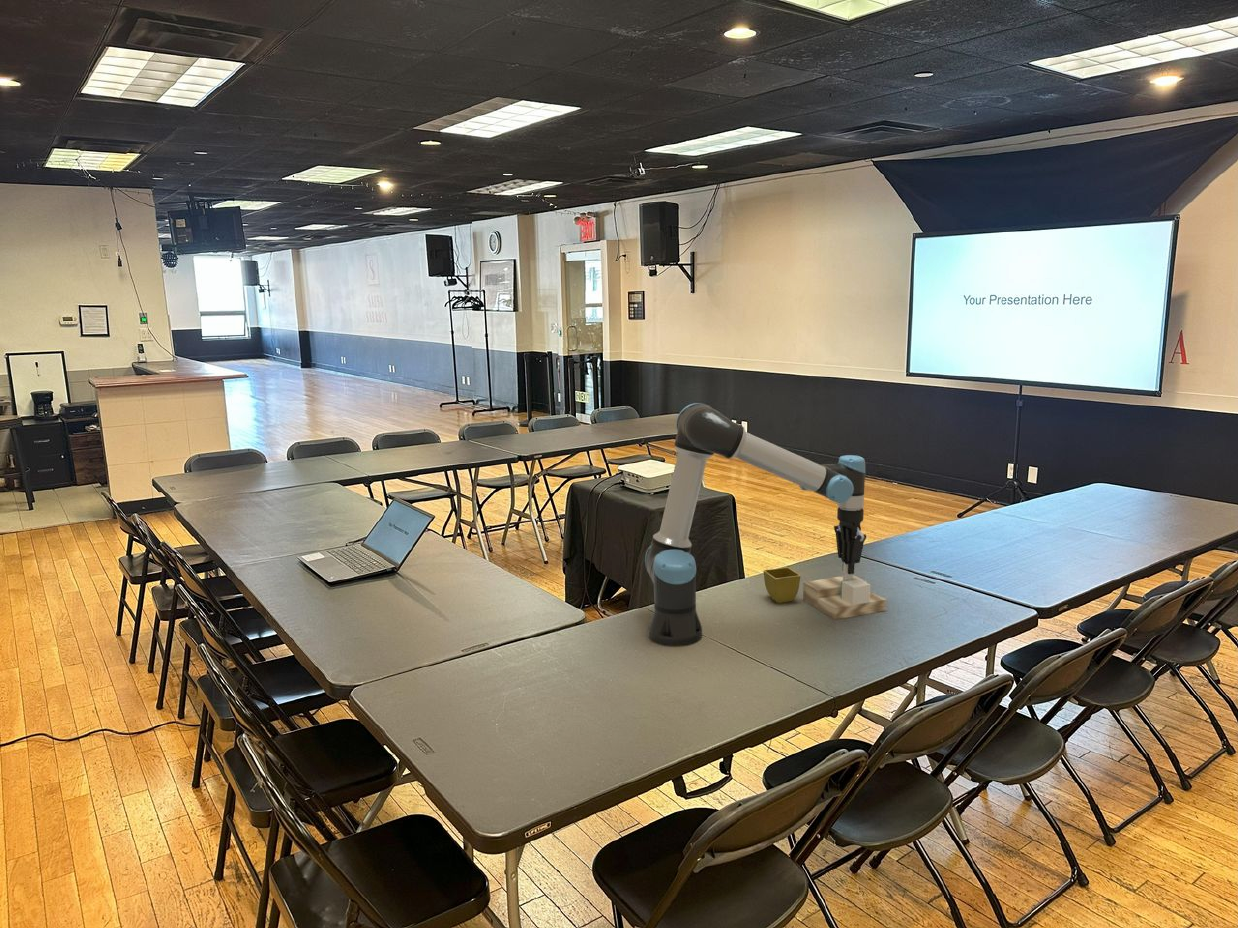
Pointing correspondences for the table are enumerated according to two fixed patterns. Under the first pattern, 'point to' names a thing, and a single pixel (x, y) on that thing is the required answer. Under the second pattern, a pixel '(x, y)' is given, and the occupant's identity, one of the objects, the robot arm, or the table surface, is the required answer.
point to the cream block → (855, 591)
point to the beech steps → (838, 599)
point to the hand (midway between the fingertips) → (847, 583)
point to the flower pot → (782, 584)
